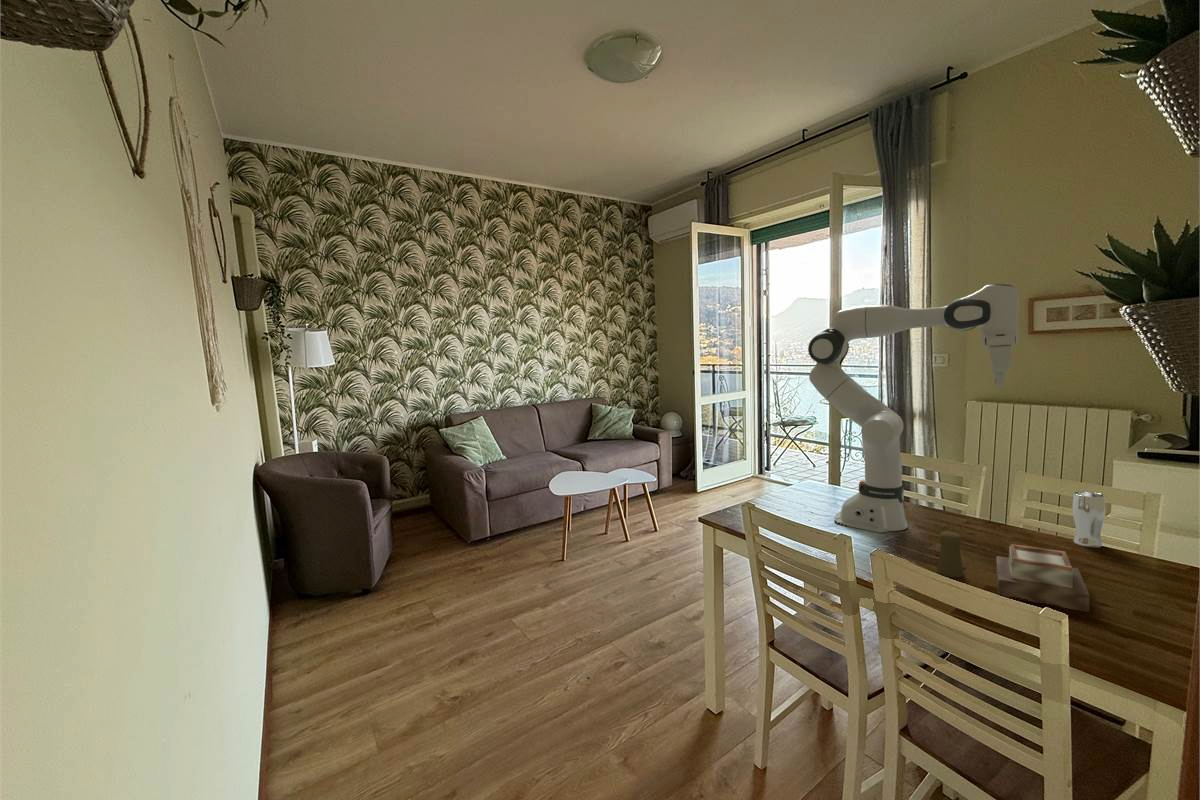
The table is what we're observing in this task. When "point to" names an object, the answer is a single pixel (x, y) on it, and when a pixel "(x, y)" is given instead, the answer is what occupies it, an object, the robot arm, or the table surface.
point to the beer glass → (1088, 518)
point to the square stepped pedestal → (1041, 577)
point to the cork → (950, 555)
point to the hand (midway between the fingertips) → (998, 385)
